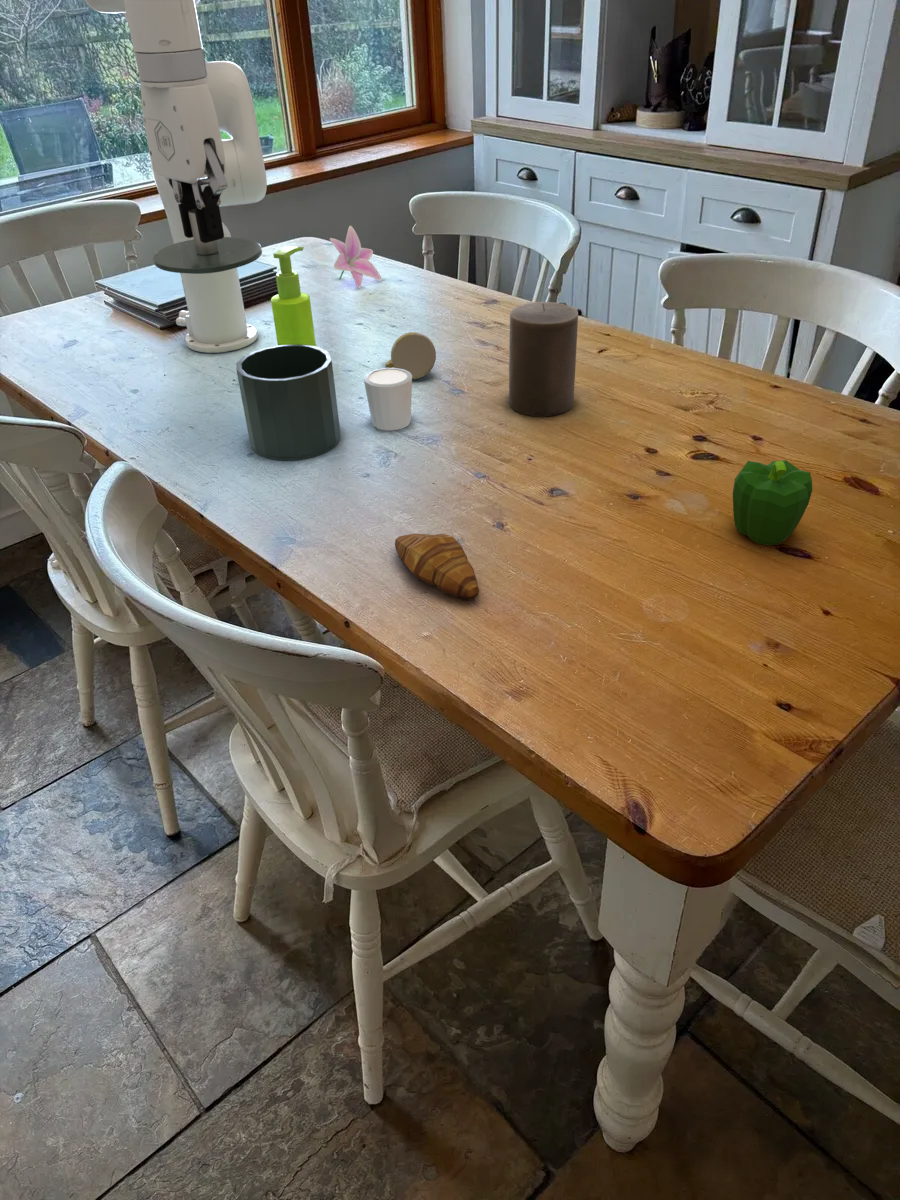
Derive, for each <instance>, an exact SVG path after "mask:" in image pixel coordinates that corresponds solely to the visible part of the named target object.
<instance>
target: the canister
mask: <svg viewBox="0 0 900 1200" xmlns="http://www.w3.org/2000/svg"><path fill="white" fill-rule="evenodd" d="M333 368H334V367H333V360H332V355H331V354H330V353H329V352H328V351H327V350H326V349H324V348H321V347H319V346H316V347H315V346H310V345H301V344H290V345H278V344H277V345H273V346H267V347H263V348H259V349H257V350H253V351H251V352H249V353H247V354H246V355H244V356H242V357H241V358H240V359H239V360H238V361H237V362H236V367H235V369H236V376H237V381H238V387H239V392H240V397H241V403H242V408H243V413H244V418H245V424H246V429H247V434H248V435H247V436H248V439H249V444H250V446H251V450H252V451H253V452H254V453H255V454H257V455H259V456H260V457H262V458H265V459H269V460H274V461H281V462H283V461H285V462H288V461H289V462H291V461H293V462H294V461H302V460H307V459H312V458H316V457H318V456H321V455H323V454H326V453H327V452H329V451H331V450H332V449H334V448H335V447H336V446H337V445H338V444H339V443H340V440H341V427H340V419H339V410H338V401H337V394H336V385H335V376H334V369H333Z"/></svg>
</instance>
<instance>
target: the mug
mask: <svg viewBox="0 0 900 1200" xmlns="http://www.w3.org/2000/svg"><path fill="white" fill-rule="evenodd" d="M436 360H437V351H436V347H435V345H434V342H433V341H432V340H431V339H430V338H429V337H428V335H425V334H424V333H421V332H416V331H412V332H411V331H410V332H406V333H404V334H402V335H400V336H399V337H398V338H397V339H396V340H395V341H394V343H393V344H392V346H391V350H390V359H389V360H387V361H385V364H384V366H385V368H399V369H404V370H407V371H408V372H410V373H411V375H412V380H417V379H421V378H423V377H425V376H426V375H427V374H429V373H430V372H431V371H432V369H433V368H434V366H435V363H436Z"/></svg>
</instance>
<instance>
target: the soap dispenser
mask: <svg viewBox="0 0 900 1200" xmlns="http://www.w3.org/2000/svg"><path fill="white" fill-rule="evenodd" d="M302 251H304V246H294V245H287V246H284V247H282V248H280V249H277V251H275V252H274V253H273V259H278V262H279V271H278V272H276V274H275V281H276V288H277V294H275V295H273V296H272V297H271V298H270V303H271V310H272V317H273V323H274V329H275V335H276V342H277V346H278V345H290V344H301V345H310V346H315V347H317V341H316V335H315V326H314V320H313V311H312V304H311V296H310V294H308V293H306V292H303V291H301V284H300V283H301V282H300V277H299V272H297V271H295V270H293V267H292V259H291V256H292V255H294V254H295V253H298V252H302Z"/></svg>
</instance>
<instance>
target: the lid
mask: <svg viewBox="0 0 900 1200" xmlns="http://www.w3.org/2000/svg"><path fill="white" fill-rule="evenodd" d="M188 214H189V219H190V224H191V229H192V234H193V239H194V240H188V241H184V242H179V243H176V244H174V243H173V244H170V245H167V246H165V247H162V248H161V249H159V250H157V251H156V252H155V253H154V254H153V256H152V260H153V261H152V262H153V264H154V266H155V267H156V268H158V269H160V270H162V271H165V272H170V273H176V274H180V273H189V274H205V273H215V272H221V271H226V270H230V269H233V268H237V269H238V268H241V267H245V266H246V265H249V264H251V263H253V262H255V261H257V260H258V259H259V258H260V257H261V256H262V254H263V249H262V246H261V243H258V242H257V241H256V240H255V241H254V240H252V239H248V238H245V237H236V236H234V237H233V236H231V237H224V238H222V239H219V240H215V241H211V242H208V243H203V242H201V241H200V237H199V231H198V226H197V221H196V216H195V211H194V209H191V210H189V211H188Z"/></svg>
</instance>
